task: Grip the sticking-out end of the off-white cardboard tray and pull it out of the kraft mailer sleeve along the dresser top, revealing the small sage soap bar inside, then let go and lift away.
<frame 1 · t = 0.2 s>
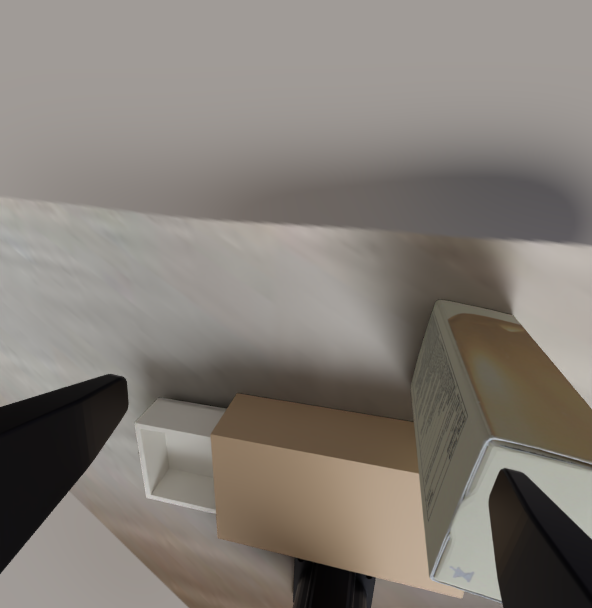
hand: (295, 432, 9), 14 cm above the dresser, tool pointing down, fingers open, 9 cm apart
skincare box: (458, 349, 22), on the dresser
tray: (255, 468, 26), point 2 cm above the dresser, slide at 0.0 cm, touching soap bar
sleeve: (344, 463, 27), on the dresser
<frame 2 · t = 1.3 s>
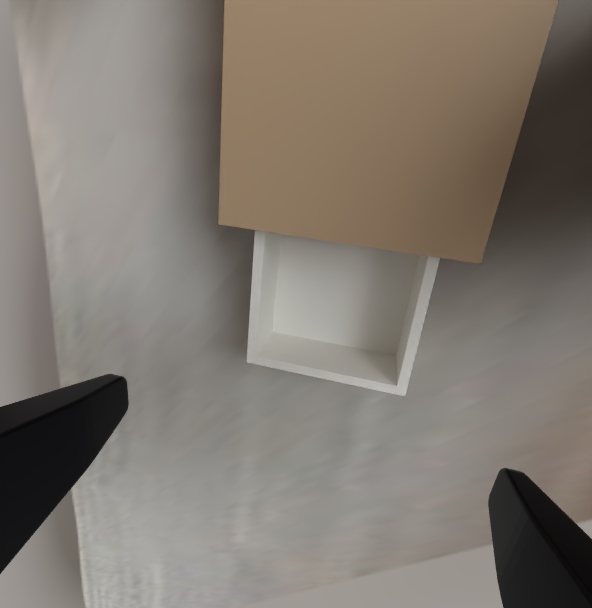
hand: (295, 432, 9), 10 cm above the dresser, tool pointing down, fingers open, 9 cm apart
tray: (356, 178, 14), point 2 cm above the dresser, slide at 0.0 cm, touching soap bar
sleeve: (387, 6, 14), on the dresser
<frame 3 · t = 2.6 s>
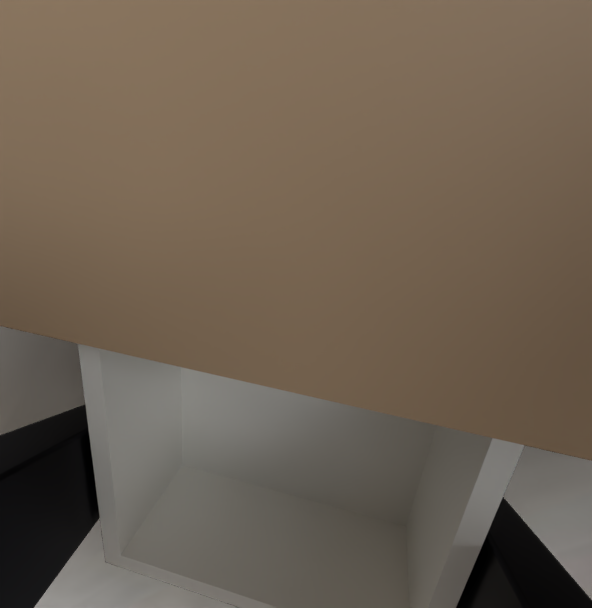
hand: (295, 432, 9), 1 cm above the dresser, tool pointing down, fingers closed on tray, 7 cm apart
tray: (317, 196, 6), point 2 cm above the dresser, slide at 0.0 cm, touching gripper, soap bar
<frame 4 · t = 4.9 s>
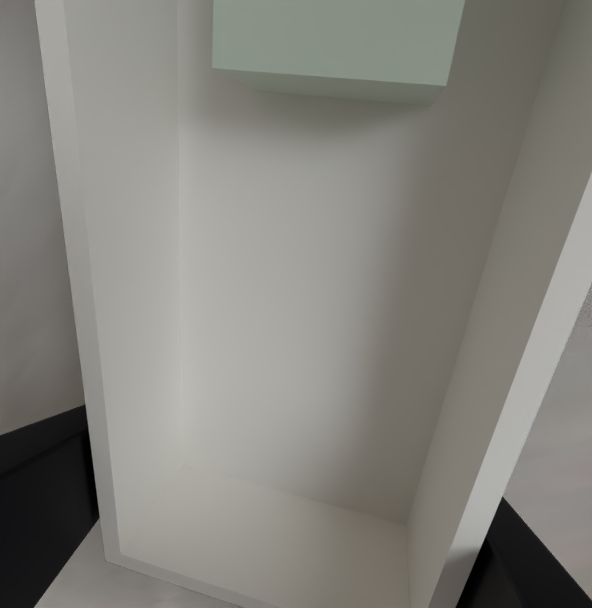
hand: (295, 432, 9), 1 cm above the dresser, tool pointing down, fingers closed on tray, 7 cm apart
tray: (317, 194, 6), point 2 cm above the dresser, slide at 7.9 cm, touching gripper, soap bar
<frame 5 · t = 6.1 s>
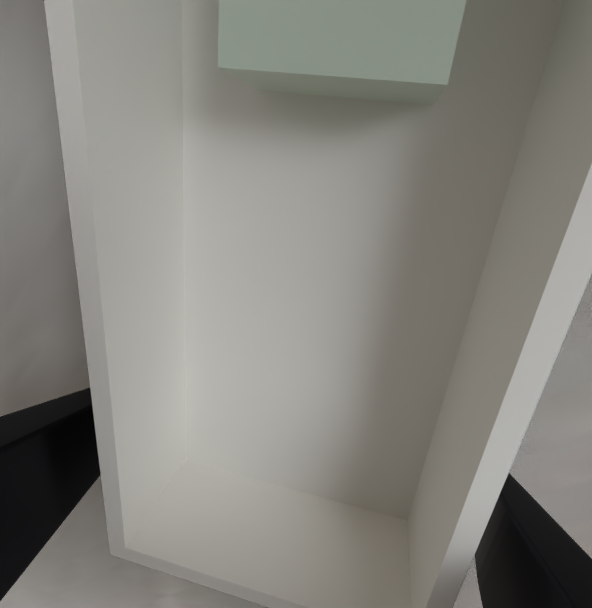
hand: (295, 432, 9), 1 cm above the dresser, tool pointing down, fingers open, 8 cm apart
tray: (320, 192, 6), point 2 cm above the dresser, slide at 7.9 cm, touching soap bar
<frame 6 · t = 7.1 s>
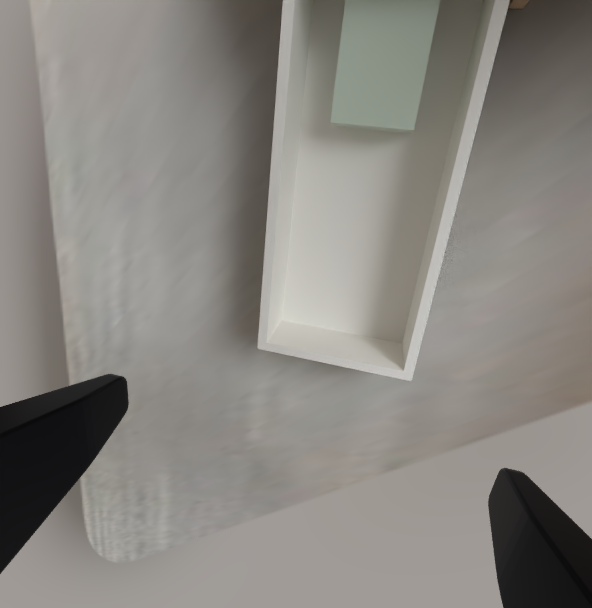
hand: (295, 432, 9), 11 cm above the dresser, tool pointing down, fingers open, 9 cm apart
tray: (365, 169, 15), point 2 cm above the dresser, slide at 7.9 cm, touching soap bar
soap bar: (385, 57, 14), point 1 cm above the dresser, touching tray
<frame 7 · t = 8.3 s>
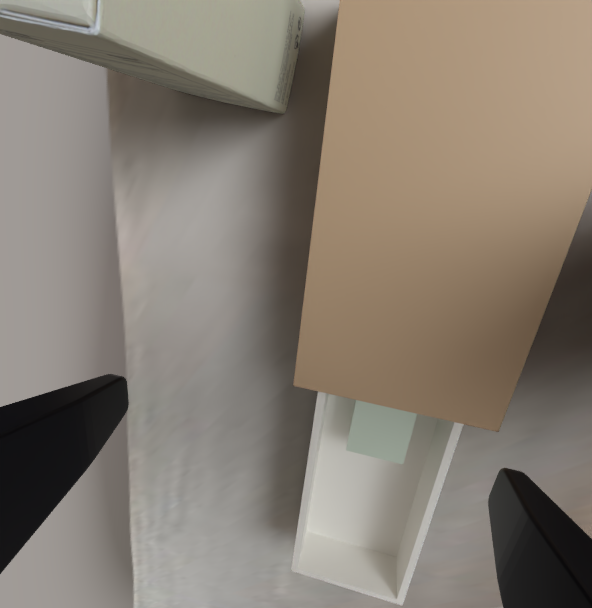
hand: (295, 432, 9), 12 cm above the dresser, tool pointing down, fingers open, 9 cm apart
skincare box: (232, 52, 17), on the dresser
tray: (369, 469, 21), point 2 cm above the dresser, slide at 7.9 cm, touching soap bar
soap bar: (383, 398, 21), point 1 cm above the dresser, touching tray
sleeve: (424, 213, 18), on the dresser
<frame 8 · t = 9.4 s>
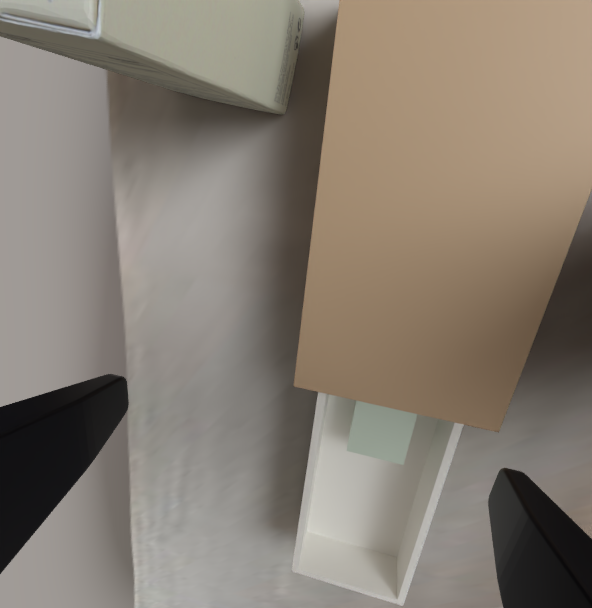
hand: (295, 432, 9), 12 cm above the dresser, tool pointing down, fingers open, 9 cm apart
skincare box: (232, 53, 18), on the dresser
tray: (370, 469, 21), point 2 cm above the dresser, slide at 7.9 cm, touching soap bar
soap bar: (384, 399, 21), point 1 cm above the dresser, touching tray
sleeve: (424, 213, 18), on the dresser
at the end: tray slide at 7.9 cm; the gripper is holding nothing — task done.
